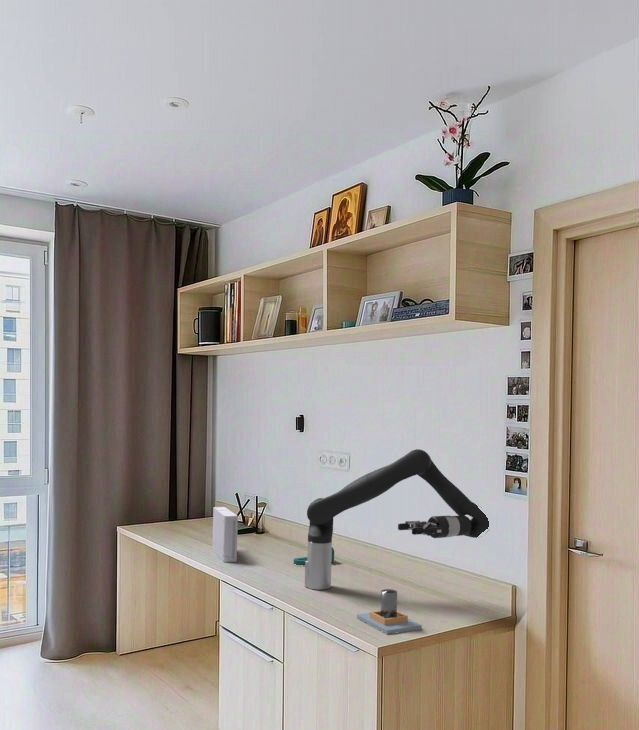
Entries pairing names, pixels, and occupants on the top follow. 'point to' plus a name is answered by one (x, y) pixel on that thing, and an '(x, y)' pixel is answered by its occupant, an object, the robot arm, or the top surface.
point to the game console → (225, 534)
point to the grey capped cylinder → (388, 603)
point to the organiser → (389, 622)
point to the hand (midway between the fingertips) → (405, 529)
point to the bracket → (302, 560)
